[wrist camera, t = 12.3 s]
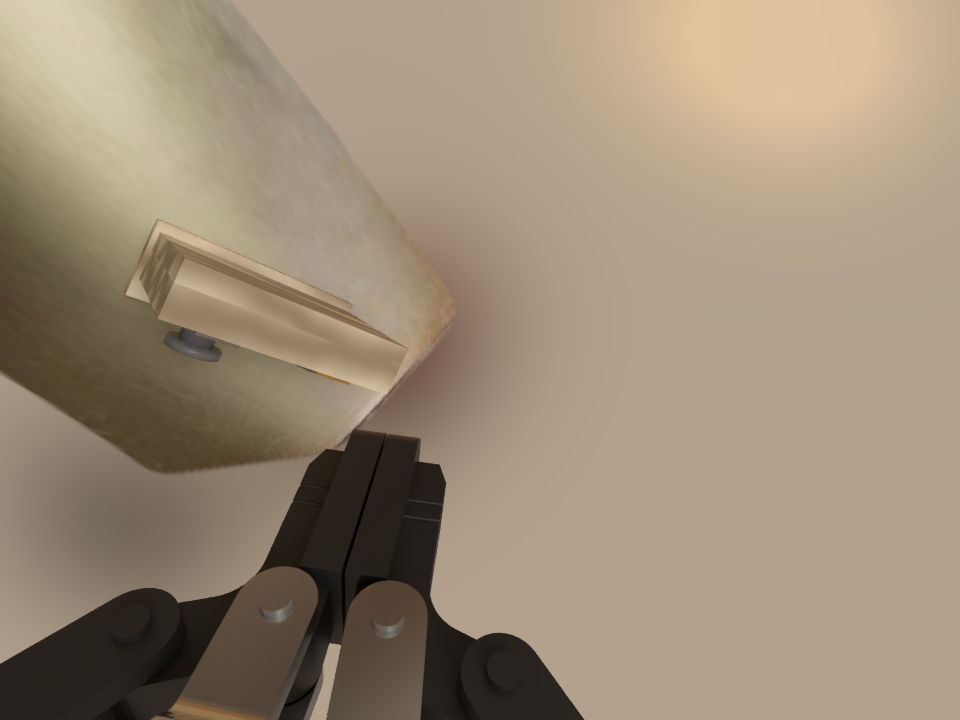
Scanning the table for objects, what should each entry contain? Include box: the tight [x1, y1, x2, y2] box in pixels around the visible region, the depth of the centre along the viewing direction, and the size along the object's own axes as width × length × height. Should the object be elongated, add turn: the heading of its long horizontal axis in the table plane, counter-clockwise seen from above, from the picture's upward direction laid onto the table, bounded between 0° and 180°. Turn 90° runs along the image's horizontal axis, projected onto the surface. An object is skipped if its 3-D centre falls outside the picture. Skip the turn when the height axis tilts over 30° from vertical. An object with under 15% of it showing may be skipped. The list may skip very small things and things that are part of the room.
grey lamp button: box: [164, 327, 222, 362], centre depth 51 cm, size 4×5×5 cm
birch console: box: [125, 219, 408, 395], centre depth 55 cm, size 8×22×18 cm, turn 60°
